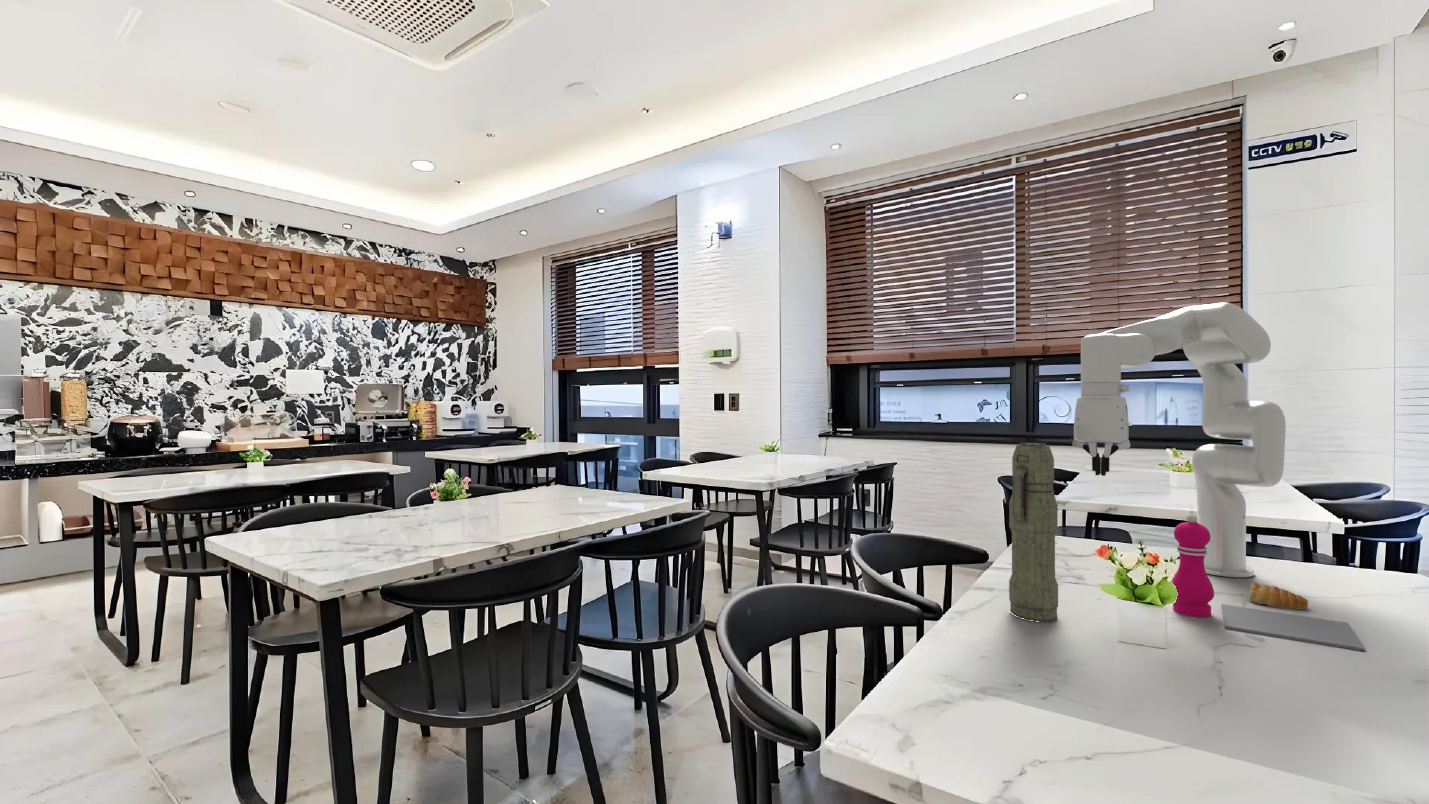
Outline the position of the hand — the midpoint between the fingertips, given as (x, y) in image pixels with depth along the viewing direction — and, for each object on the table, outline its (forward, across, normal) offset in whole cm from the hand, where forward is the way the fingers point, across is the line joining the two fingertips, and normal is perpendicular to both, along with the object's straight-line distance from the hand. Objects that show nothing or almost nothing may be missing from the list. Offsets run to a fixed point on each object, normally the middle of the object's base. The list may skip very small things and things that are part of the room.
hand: (1100, 474), depth 140 cm
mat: (+27, -30, 0) cm, 41 cm away
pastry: (+28, -30, -16) cm, 44 cm away
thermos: (+27, +10, +20) cm, 35 cm away
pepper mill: (+27, -16, 0) cm, 32 cm away
